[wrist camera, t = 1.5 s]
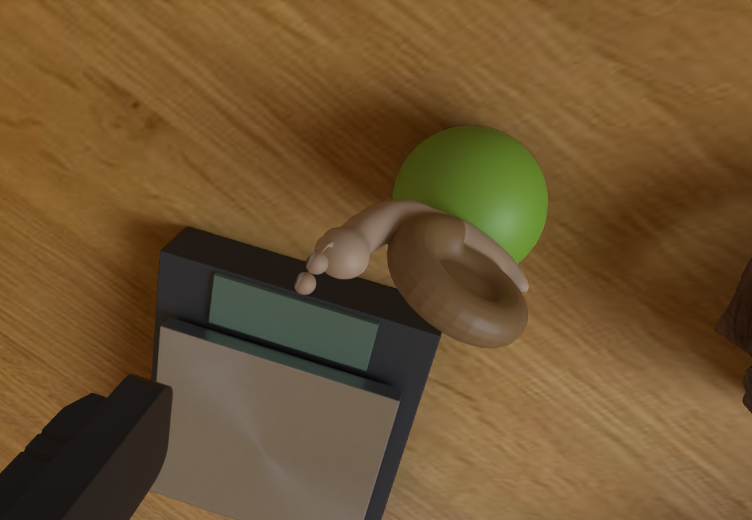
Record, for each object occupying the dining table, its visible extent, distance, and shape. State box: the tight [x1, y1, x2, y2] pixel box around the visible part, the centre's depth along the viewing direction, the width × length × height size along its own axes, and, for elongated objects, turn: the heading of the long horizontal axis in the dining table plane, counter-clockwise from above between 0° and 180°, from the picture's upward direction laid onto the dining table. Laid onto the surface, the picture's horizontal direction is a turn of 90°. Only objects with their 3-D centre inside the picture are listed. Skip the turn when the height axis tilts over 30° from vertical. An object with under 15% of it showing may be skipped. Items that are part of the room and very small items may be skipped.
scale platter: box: [149, 317, 403, 520], centre depth 31 cm, size 10×10×1 cm
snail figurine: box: [294, 125, 548, 348], centre depth 21 cm, size 5×6×12 cm
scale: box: [151, 227, 442, 520], centre depth 32 cm, size 14×12×3 cm
